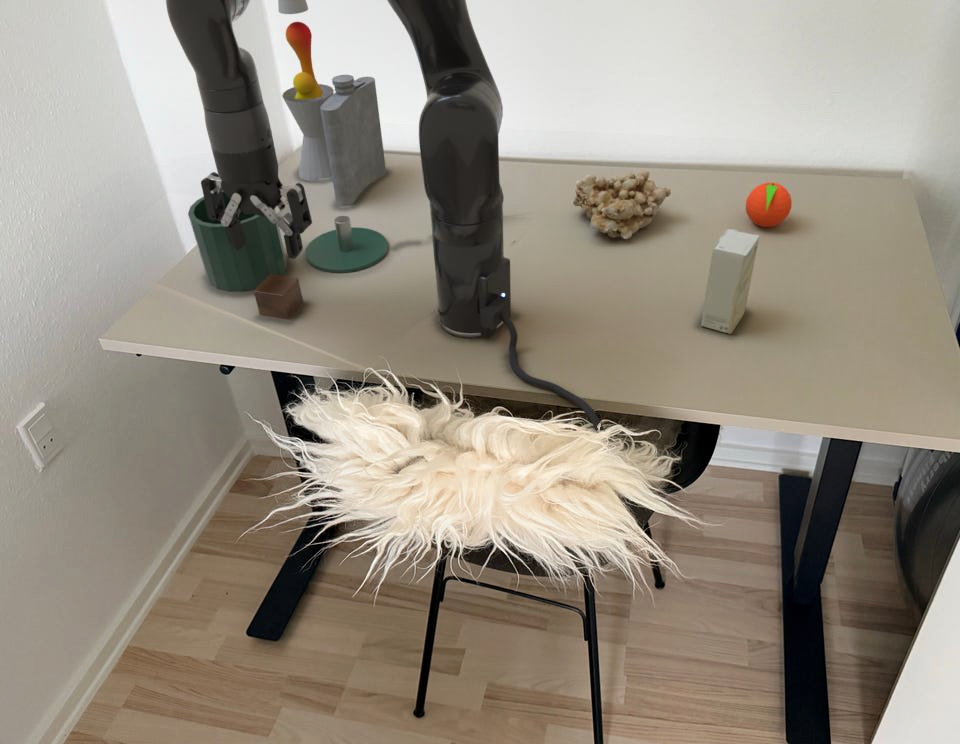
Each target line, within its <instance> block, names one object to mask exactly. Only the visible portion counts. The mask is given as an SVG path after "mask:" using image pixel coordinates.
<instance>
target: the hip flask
mask: <svg viewBox="0 0 960 744" xmlns="http://www.w3.org/2000/svg"><path fill="white" fill-rule="evenodd" d="M331 83H332V85H333V88H334V93H333V95H332V96H330V97H329V98H328V99H327V100H326V101H325V102H324V103H323V104H322V106H321V107H320V109H321V115H322V121H323V127H324V133H325V139H326V145H327V151H328V156H329V162H330V168H331V174H332V176H331V178H332V186H333V191H334V196H335V197H334V198H335V203H336V205H337V206H339V207H347V206H351V205H353V204H354V203H355V202H356V200H357V198H358V197H359V196H360V194H361V193H362V192H363V191H364V190H365V189H366V188H367V187H368V186H369V185H370V184H371V183H372V182H373V183H375V182H377V181H379V180H381V178H383V177H384V176H386V175H387V168H386V160H385V152H384V143H383V136H382V135H383V134H382V126H381V118H380V110H379V102H378V94H377V86H376V79H375V77H373V76H361V77H358V78H357V79H355V77H354V76H353V75H351V74H339V75H334V76H333V77H332V78H331Z"/></svg>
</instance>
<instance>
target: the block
mask: <svg viewBox="0 0 960 744" xmlns="http://www.w3.org/2000/svg"><path fill="white" fill-rule="evenodd" d="M253 294H254V297H255V301H256V306H257V309H258V314H259V315H260V316H263V317H272V318H277V319H282V320H290V319H291V317H292V316H293V315H294V314H295V312H297V310H298V309H299V308H300V306H301V305H302V304H303V303H304V299H303V295H302V289H301V285H300V280H299V278H298V277H293V276H287V275H286V276H285V275H282V276H280V275H273V274H269V275H268V276H267V278H266V279H265V280H264V281H263V282H262V283H261V284H260V285H259V286H258V287H257V288H256V289H254V290H253Z"/></svg>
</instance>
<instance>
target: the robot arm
mask: <svg viewBox="0 0 960 744" xmlns="http://www.w3.org/2000/svg"><path fill="white" fill-rule="evenodd" d="M386 1H387V3H388V5H389V6H390V8H391V9H392V11H393V12H394V13H395V14H396V16H397V17H398V19H399V21H400V22H401V24H402V25H403V27H404V28H405V31H406V32H407V34H408V36H409V38H410V40H411V43H412V46H413V48H414V52H415V55H416V57H417V60H418V64H419V67H420V71H421V74H422V75H421V76H422V78H423V84H424V86H425V87H424V88H425V91H426V97H427V98H426V102H425V104H424V105H423V107H422V111H421V113H420V117H419V120H418V145H419V153H420V162H421V172H422V180H423V187H424V188H423V189H424V192H425V196H426V197H427V199H428V203H429V212H430V224H431V237H432V238H431V239H432V247H433V249H432V250H433V259H434V260H433V261H434V271H435V272H434V273H435V283H436V294H437V306H438V323H439V325H440V327H441V328H442V329H443V330H444V331H445V332H447V333H448V334H450V335H452V336H456V337H460V338H465V339H466V338H467V339H472V338H484V339H486V340H488V339H490V338H491V337H492V336H494V334H495V333H497V331H499V330H500V329H501V328H502V327H503V326H504V325H505V327H506V328H507V330H508V331H509V336H510V337H509V339H510V340H509V344H508V354H509V355H508V356H509V363H510V367H511V369H512V371H513V372H514V374H515V375H516V376H517V377H518V378H520V379H521V380H522V381H524V382H526V383H528V384H530V385H533V386H536V387H541V388H544V389H546V390H550V391H552V392H554V393H555V394H558V395H559V396H561V397H563V398H565V399H566V400H568V401H569V402H571V403H573V404H575V405H576V406H577V407H579V408H580V410H582V411H583V412H584V413H585V415H586V416H587V418H588V419H589V421H590V422H591V424H592V426H593V427H594V430H595V431H596V432H597V430H598V428H597V425H598V424H599V423H600V422H601V420H600V418H599V417H598V415H597V414H596V412H595V411H594V409H593V408H592V407H591V406H590V405H589V404H588V403H587V402H586V401H585V400H583V398H581V397H579V396H578V395H576V394H574V393H572V392H571V391H569V390H568V389H565V388H564V387H561V386H560V385H559V384H556V383H554V382H551V381H548V380H545V379H541V378H537V377H534V376H531V375H529V374H528V373H526V372H525V371H524V370H523V369H522V368H521V367H520V366H519V364H518V363H519V362H518V357H517V342H518V332H517V328H516V326H515V324H514V323H513V321H512V320H511V318H512V291H511V289H512V288H511V283H512V282H511V259H510V258H508V257H505V253H504V251H505V250H504V206H503V205H504V193H502V192H503V188H502V186H501V181H500V154H499V151H500V149H499V146H500V145H499V134H500V130H501V126H502V120H503V116H504V108H503V107H504V106H503V101H502V96H501V93H500V90H499V88H498V85H497V83H496V81H495V78H494V77H493V74H492V71H491V69H490V67H489V65H488V62H487V60H486V57H485V55H484V53H483V50H482V47H481V45H480V42H479V39H478V37H477V35H476V32H475V29H474V26H473V23H472V19H471V17H470V14H469V8H468V5H467V0H386ZM250 2H251V0H165V6H166V13H167V16H168V19H169V22H170V26H171V28H172V30H173V33H174V34H175V36H176V39H177V41H178V43H179V45H180V47H181V49H182V51H183V53H184V55H185V56H186V59H187V61H188V62H189V64H190V65H191V67H192V69H193V71H194V74H195V79H196V84H197V88H198V92H199V96H200V100H201V103H202V104H201V105H202V108H203V114H204V123H205V128H206V132H207V136H208V140H209V143H210V149H211V151H212V155H213V159H214V163H215V168H216V170H217V171H212V172H211V173H210V174H208V175H207V176H206V177H204V178H203V179H202V180H201V181H200V185H201V190H202V194H203V197H204V200H205V204H206V209H207V214H208V217H209V219H210V220H212V221H215V220H218V221H220V222H221V224H222V225H223V226H224V227H225V230H226V234H227V238H228V242H229V244H230V245H231V246H232V248H233V250H240V249H241V248H242V247H243V246H244V245H245V238H244V234H243V230H242V226H241V222H240V220H237V218H238V216H239V214H240V213H241V211H243V213H244V214H256V215H259V216H264V217H265V216H266V217H267V218H268V219H269V220H270V221H271V222H272V223H273V224H277V225H278V226H279V229H280V231H282V232H283V233H284V235H283V239H284V244H285V248H286V249H285V250H286V254H287V258H288V259H291V260H295V259H296V258H298V256H299V255H300V254H301V252H302V251H303V249H304V248H303V242H302V235H301V234H303V233H305V231H306V230H307V229H308V228H309V227H310V226H311V225H312V224H313V219H312V215H311V211H310V207H309V203H308V198H307V194H306V189H305V186H304V184H302V183H301V182H297V183H295V184H294V185H283V182H282V181H281V179H280V178H279V162H278V157H277V153H276V147H275V143H274V142H275V141H274V137H273V132H272V128H271V123H270V119H269V115H268V112H267V111H268V110H267V108H266V106H265V103H264V98H263V94H262V89H261V84H260V79H259V75H258V70H257V66H256V63H255V60H254V57H253V56H252V55H251V53H250V52H249V51H247V50H246V49H245V48H242V47H239V44H238V41H237V38H236V35H235V32H234V27H233V23H234V22H236V21H237V20H238V19H239V18H240V17H241V16H242V15H243V14H244V13H245V11H246V10H247V8H248V5H249V4H250ZM222 190H223V191H224V192H225V193H226V195H227V196H228V197H229V198H230V199H231V200H230V202H229V204H228V206H227V208H226V209H225V204H224V199H223V194H222ZM276 208H278V209H279V211H278V212H275V211H276ZM274 209H275V211H274ZM600 430H604V431H605V428H604V426H603V424H602V423H601V427H600Z"/></svg>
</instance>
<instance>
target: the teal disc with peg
mask: <svg viewBox="0 0 960 744" xmlns="http://www.w3.org/2000/svg"><path fill="white" fill-rule="evenodd" d="M333 221H334V229H332V230H329V231H327V232H324V233H322V234H320V235H318V236H316V237H315V238H314V239H312V240H311V241H310V242H309V243H308V244H307V246H306V248H305V252H304V253H305V259H306V261H307V263H308V264H309V265H310V266H311V267H313V268H315V269H317V270H319V271H323V272H327V273H333V274H335V273H336V274H342V273H343V274H345V273H353V272H358V271H361V270H364V269H367V268H370V267H372V266H374V265H376V264H377V263H379V262H380V261H382V260H383V259H384V258H385V256H386V255H387V253H388V250H389V243H388V241H387V238H386V237H385V236H384V235H383V234H382V233H381V232H378V231H376V230H373V229H371V228H367V227H354V226H353V227H352V223H351V218H350V216H347V215H339V216H336V217H335V218H334V220H333Z"/></svg>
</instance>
